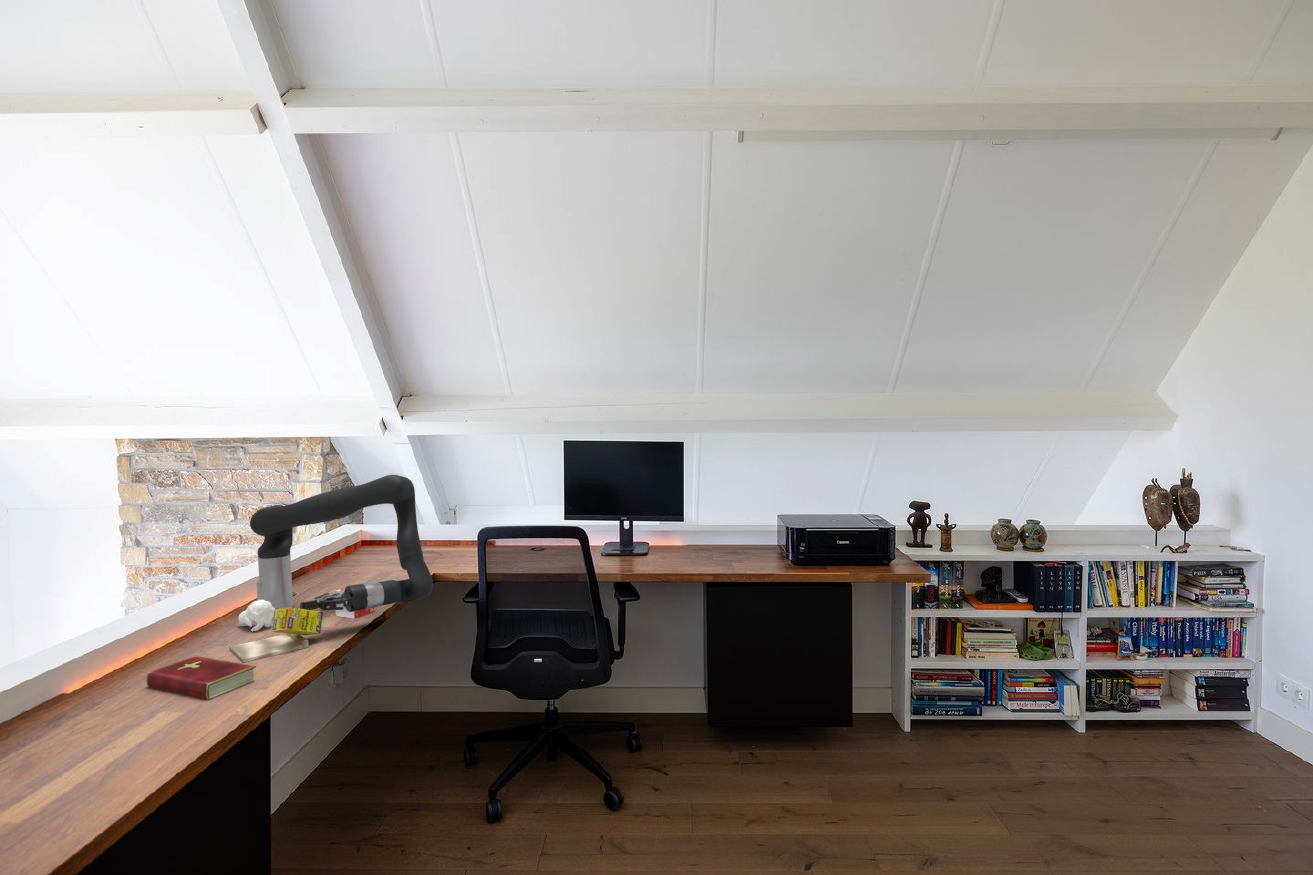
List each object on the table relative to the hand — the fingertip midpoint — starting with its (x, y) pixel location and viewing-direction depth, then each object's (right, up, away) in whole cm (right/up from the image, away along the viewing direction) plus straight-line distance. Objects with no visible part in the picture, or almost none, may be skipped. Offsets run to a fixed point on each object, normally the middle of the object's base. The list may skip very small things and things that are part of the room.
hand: (301, 606), depth 196 cm
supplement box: (+3, -5, +2) cm, 6 cm away
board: (-7, -10, -5) cm, 13 cm away
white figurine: (-21, -10, +14) cm, 27 cm away
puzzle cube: (+4, -9, +26) cm, 28 cm away
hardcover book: (-9, -12, -29) cm, 32 cm away
